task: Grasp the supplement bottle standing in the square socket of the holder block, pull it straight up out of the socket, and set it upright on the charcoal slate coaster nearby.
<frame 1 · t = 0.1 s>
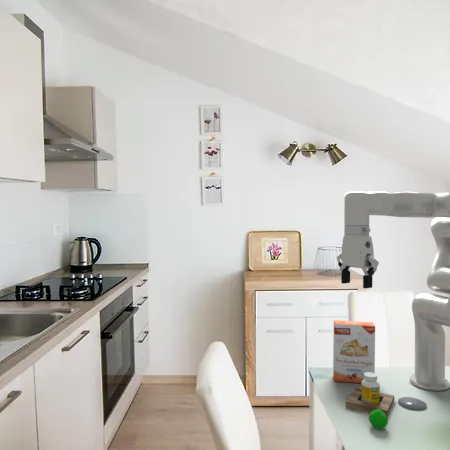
hand: (356, 285, 131), 37 cm above the table, tool pointing down, fingers open, 9 cm apart
cracker box: (353, 380, 149), on the table
polyhedron: (378, 428, 116), on the table
slate coaster: (411, 404, 130), on the table
holder block: (370, 404, 130), on the table
supplement bottle: (370, 405, 130), resting in holder block
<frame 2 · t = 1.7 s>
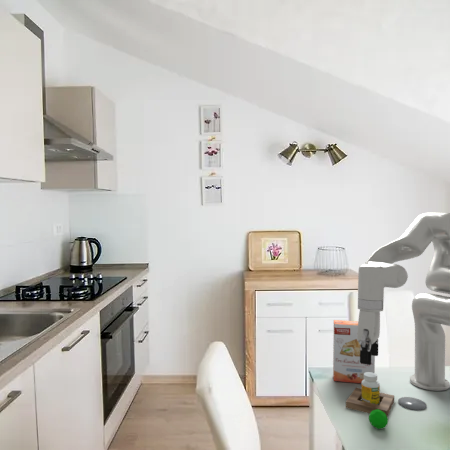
hand: (369, 359, 129), 14 cm above the table, tool pointing down, fingers open, 9 cm apart
nothing on the table moved.
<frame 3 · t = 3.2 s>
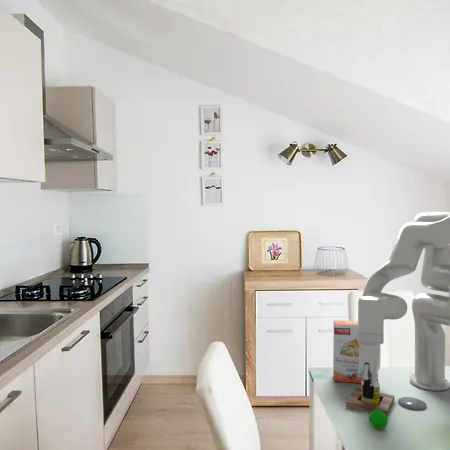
hand: (370, 393, 129), 4 cm above the table, tool pointing down, fingers closed on supplement bottle, 5 cm apart
supplement bottle: (370, 405, 130), resting in holder block, touching gripper
everything else where it was.
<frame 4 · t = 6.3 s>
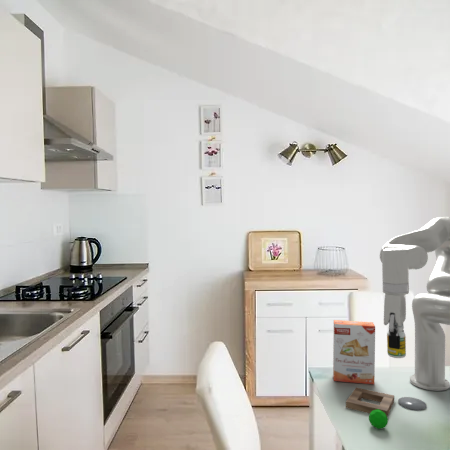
hand: (396, 344, 130), 19 cm above the table, tool pointing down, fingers closed on supplement bottle, 5 cm apart
supplement bottle: (396, 356, 130), point 15 cm above the table, touching gripper
everything else where it was.
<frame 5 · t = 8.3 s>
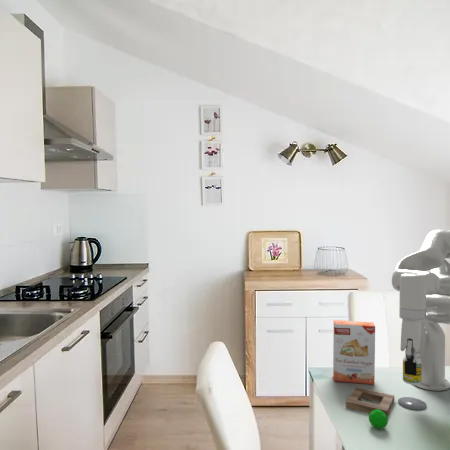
hand: (411, 370, 129), 11 cm above the table, tool pointing down, fingers closed on supplement bottle, 5 cm apart
supplement bottle: (411, 382, 129), point 7 cm above the table, touching gripper
everything else where it was.
when the fingers open (6 cm above the table, at t = 9.7 s): supplement bottle drops 2 cm, resting on slate coaster.
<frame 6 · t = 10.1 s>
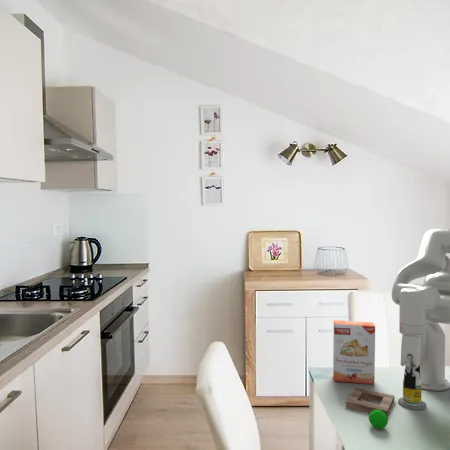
hand: (412, 382, 130), 7 cm above the table, tool pointing down, fingers open, 9 cm apart
supplement bottle: (412, 403, 130), resting on slate coaster
everything else where it was.
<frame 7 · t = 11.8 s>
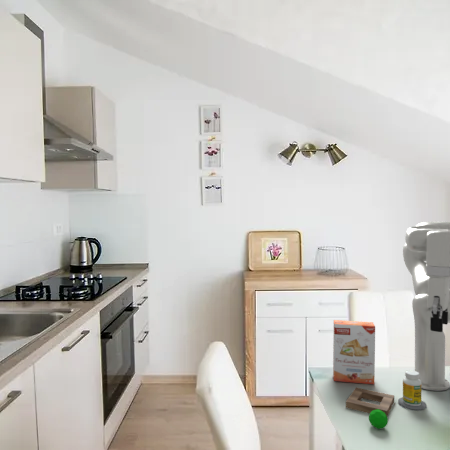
hand: (439, 327, 126), 25 cm above the table, tool pointing down, fingers open, 9 cm apart
nothing on the table moved.
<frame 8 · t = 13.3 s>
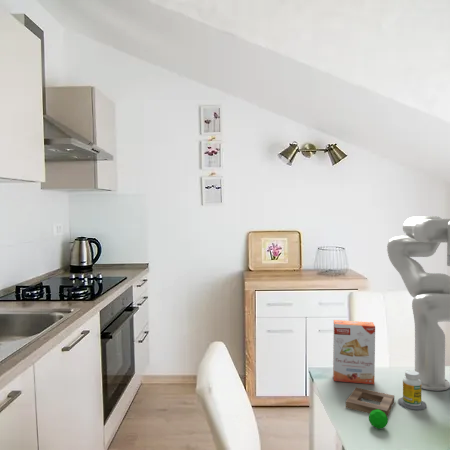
nothing on the table moved.
at the end: supplement bottle 0.1 cm off-centre on the slate coaster, point 0.3 cm above the slate coaster's base; supplement bottle tilted 0°; the gripper is holding nothing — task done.
